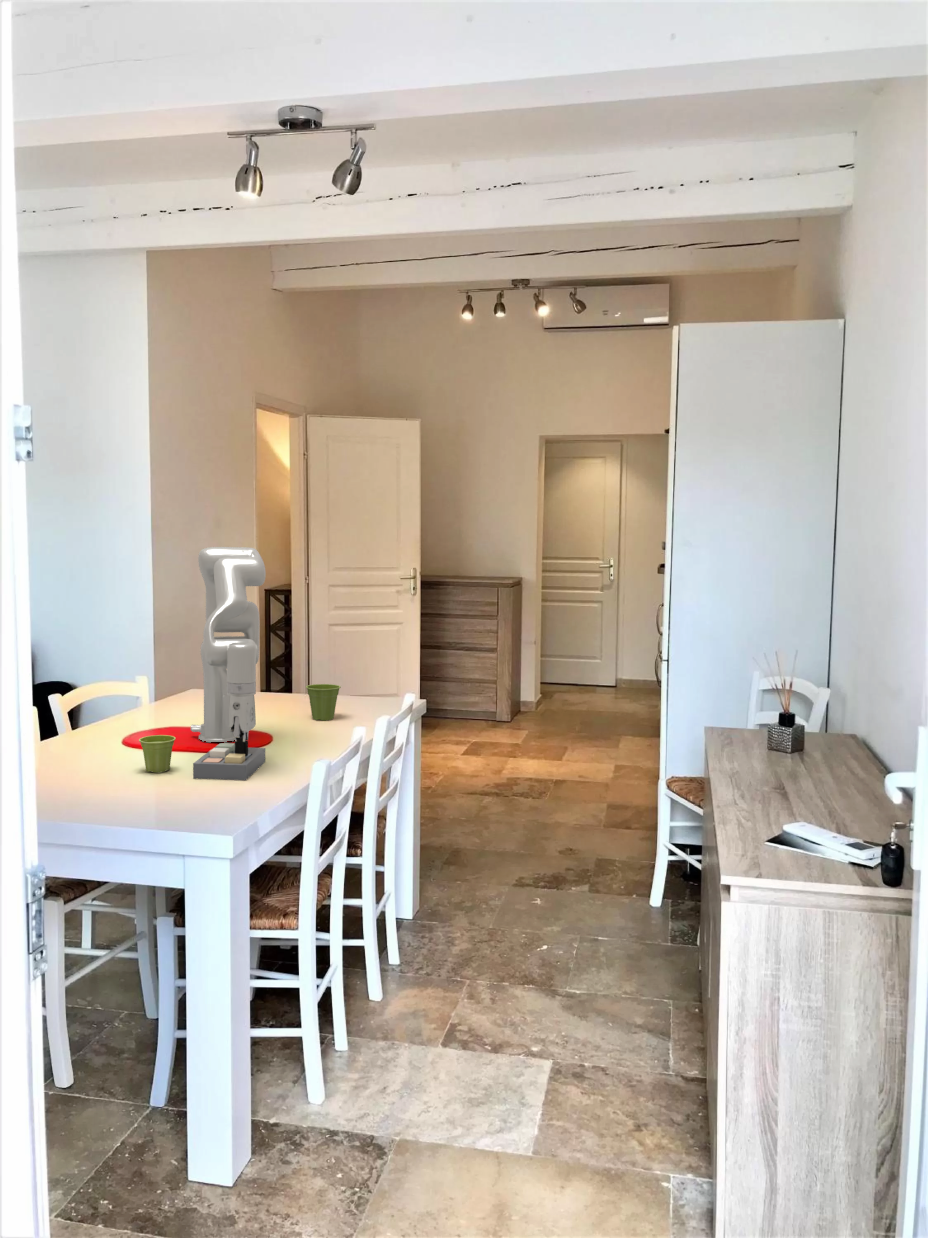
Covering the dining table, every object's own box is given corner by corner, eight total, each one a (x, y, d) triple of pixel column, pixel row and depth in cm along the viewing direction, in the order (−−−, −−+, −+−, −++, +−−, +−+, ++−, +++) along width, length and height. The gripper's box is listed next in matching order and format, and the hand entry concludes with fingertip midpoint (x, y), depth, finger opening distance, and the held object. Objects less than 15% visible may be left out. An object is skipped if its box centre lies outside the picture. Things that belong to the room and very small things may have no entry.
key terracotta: (202, 773, 267) (202, 761, 267) (207, 769, 272) (207, 758, 271) (218, 773, 267) (218, 762, 267) (222, 769, 271) (222, 758, 271)
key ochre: (225, 768, 267) (225, 757, 267) (229, 764, 271) (229, 753, 271) (240, 769, 267) (240, 757, 266) (245, 765, 271) (245, 754, 271)
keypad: (193, 778, 266) (193, 763, 265) (216, 760, 286) (216, 746, 285) (246, 780, 265) (246, 765, 265) (265, 762, 285) (265, 748, 284)
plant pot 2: (347, 718, 349) (347, 686, 348) (325, 723, 339) (325, 690, 338) (321, 714, 355) (321, 682, 354) (298, 719, 345) (298, 686, 344)
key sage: (216, 757, 279) (216, 746, 279) (220, 753, 283) (220, 742, 283) (231, 757, 279) (231, 746, 279) (235, 754, 283) (235, 743, 283)
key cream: (209, 762, 273) (209, 751, 273) (214, 758, 277) (214, 747, 277) (224, 762, 273) (224, 751, 273) (229, 759, 277) (229, 748, 277)
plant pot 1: (142, 776, 267) (142, 743, 266) (136, 768, 275) (136, 736, 274) (179, 772, 271) (178, 740, 270) (171, 764, 280) (171, 733, 279)
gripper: (247, 693, 265) (247, 762, 267) (262, 684, 280) (262, 750, 282) (219, 692, 266) (219, 761, 267) (235, 683, 280) (235, 749, 282)
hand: (241, 755), depth 274 cm, fingers closed
